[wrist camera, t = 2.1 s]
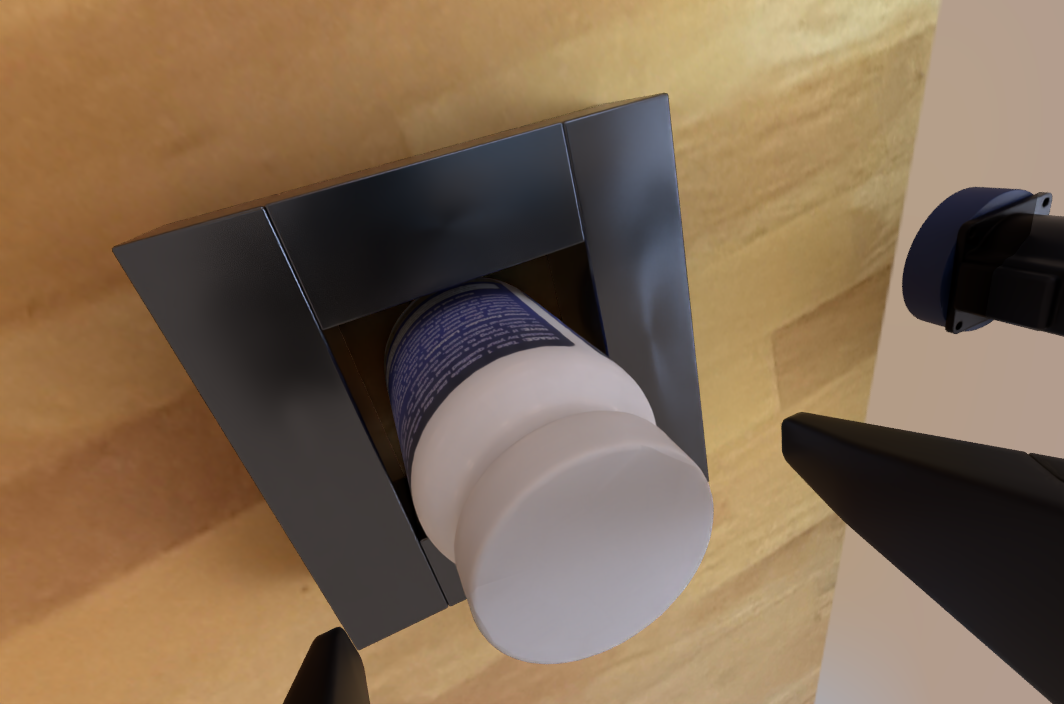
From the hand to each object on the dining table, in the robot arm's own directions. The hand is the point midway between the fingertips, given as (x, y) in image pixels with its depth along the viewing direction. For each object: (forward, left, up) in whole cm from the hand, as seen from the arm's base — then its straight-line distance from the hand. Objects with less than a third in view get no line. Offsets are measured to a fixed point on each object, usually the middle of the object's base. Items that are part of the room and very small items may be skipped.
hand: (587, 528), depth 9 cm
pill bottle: (0, 0, -9) cm, 9 cm away
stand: (0, 0, -9) cm, 9 cm away
